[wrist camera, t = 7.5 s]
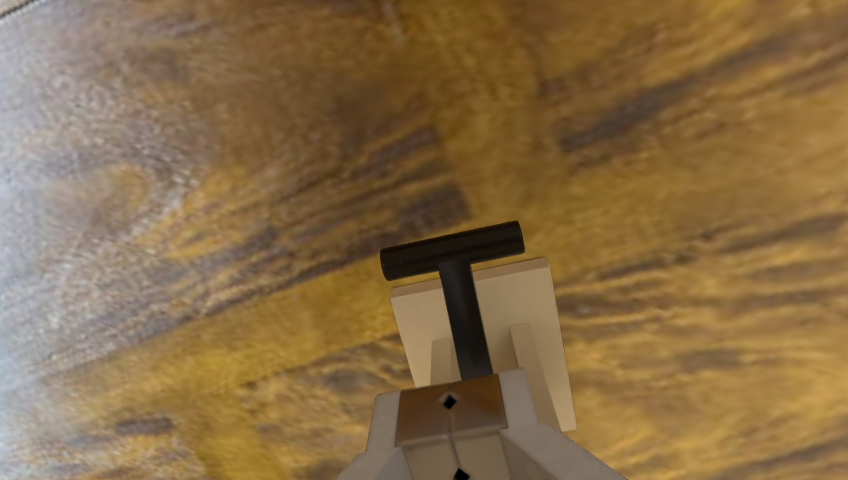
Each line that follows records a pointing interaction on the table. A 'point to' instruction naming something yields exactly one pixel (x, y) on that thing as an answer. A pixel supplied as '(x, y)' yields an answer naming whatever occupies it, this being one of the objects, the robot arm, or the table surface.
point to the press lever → (458, 281)
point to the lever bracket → (494, 334)
